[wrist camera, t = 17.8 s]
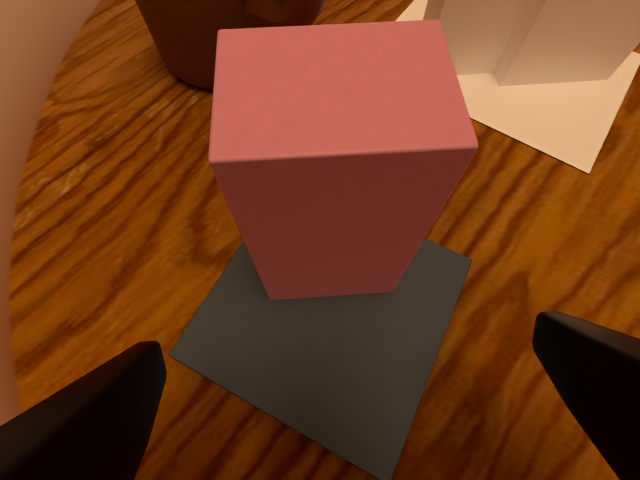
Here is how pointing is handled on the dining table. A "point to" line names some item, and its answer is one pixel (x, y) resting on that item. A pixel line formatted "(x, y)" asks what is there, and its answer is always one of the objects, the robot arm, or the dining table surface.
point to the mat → (329, 353)
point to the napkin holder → (541, 67)
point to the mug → (213, 28)
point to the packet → (336, 149)
